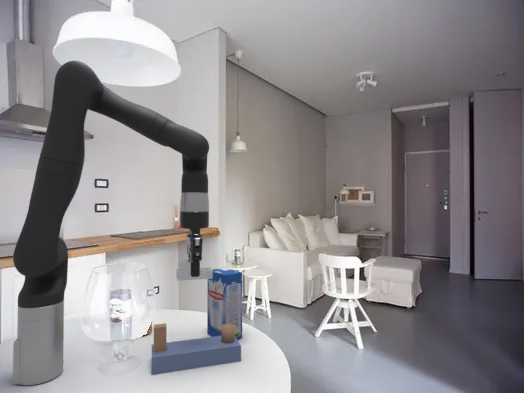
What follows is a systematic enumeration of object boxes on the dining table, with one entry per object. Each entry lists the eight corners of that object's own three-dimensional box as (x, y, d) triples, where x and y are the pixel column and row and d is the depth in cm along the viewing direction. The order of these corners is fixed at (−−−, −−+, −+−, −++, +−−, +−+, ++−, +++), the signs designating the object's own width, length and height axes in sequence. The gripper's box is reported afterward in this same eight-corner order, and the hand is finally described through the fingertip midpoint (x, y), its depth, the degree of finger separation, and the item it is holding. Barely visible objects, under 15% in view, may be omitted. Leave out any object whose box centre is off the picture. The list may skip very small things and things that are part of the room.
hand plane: (151, 374, 79) (151, 332, 79) (151, 360, 86) (151, 321, 87) (240, 361, 86) (240, 322, 86) (233, 348, 93) (233, 312, 94)
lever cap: (177, 280, 84) (177, 262, 84) (176, 276, 89) (176, 259, 89) (212, 278, 87) (212, 261, 87) (209, 274, 91) (209, 258, 91)
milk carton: (207, 334, 104) (207, 270, 104) (223, 329, 108) (223, 267, 108) (225, 344, 96) (225, 275, 97) (242, 338, 100) (242, 272, 101)
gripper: (178, 209, 94) (177, 270, 93) (182, 210, 80) (181, 281, 80) (205, 209, 96) (204, 268, 96) (213, 210, 82) (212, 279, 82)
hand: (194, 274), depth 88 cm, fingers closed on lever cap, 5 cm apart
